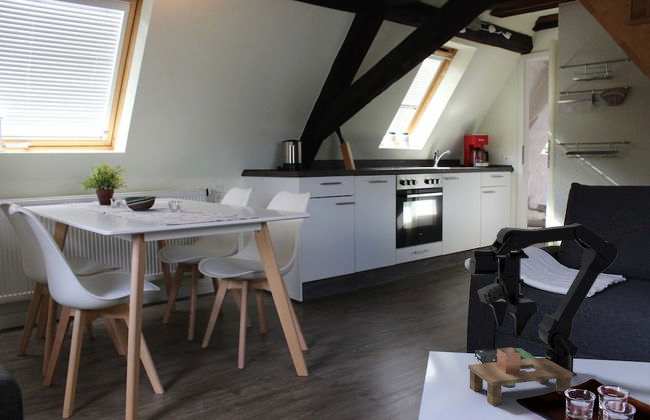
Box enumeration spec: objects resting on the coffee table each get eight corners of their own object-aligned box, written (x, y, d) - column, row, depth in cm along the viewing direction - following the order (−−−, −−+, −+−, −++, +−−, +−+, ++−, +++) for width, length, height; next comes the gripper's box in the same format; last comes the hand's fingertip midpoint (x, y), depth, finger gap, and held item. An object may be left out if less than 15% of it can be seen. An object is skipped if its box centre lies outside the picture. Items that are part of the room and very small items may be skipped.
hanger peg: (511, 381, 150) (511, 347, 149) (519, 387, 146) (520, 352, 145) (497, 383, 149) (497, 348, 148) (505, 389, 145) (505, 353, 144)
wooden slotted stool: (543, 379, 156) (543, 357, 156) (572, 396, 145) (572, 373, 144) (468, 387, 151) (468, 364, 151) (491, 406, 140) (492, 381, 139)
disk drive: (488, 371, 164) (538, 367, 167) (488, 361, 164) (538, 357, 166) (474, 359, 175) (520, 355, 177) (474, 350, 174) (520, 346, 177)
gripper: (465, 270, 165) (465, 324, 167) (500, 283, 147) (499, 343, 149) (501, 267, 168) (500, 321, 169) (539, 280, 150) (538, 340, 151)
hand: (508, 331), depth 160 cm, fingers open, 9 cm apart
